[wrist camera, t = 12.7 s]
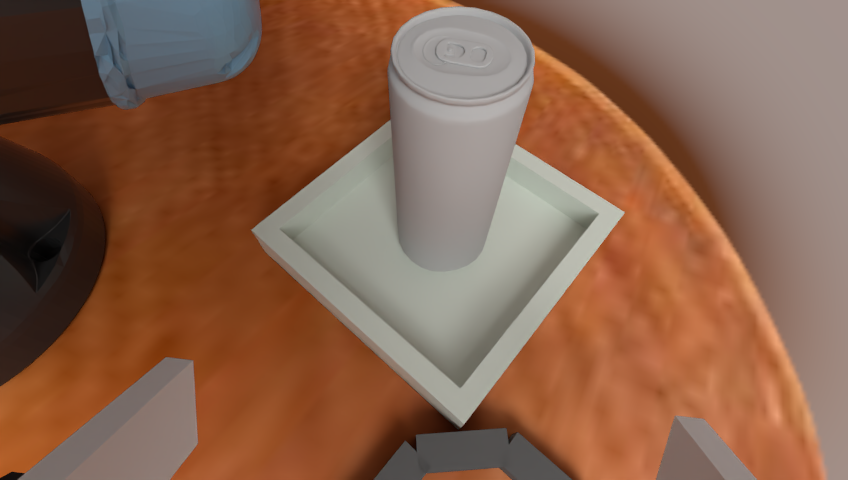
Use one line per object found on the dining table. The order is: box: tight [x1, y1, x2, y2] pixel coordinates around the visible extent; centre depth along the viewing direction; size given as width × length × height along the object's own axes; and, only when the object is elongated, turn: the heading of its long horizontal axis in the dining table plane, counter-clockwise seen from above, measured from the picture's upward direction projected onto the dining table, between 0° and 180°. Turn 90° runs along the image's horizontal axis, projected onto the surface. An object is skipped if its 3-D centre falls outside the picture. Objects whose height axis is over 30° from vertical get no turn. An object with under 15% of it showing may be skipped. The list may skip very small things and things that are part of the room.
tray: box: [251, 120, 625, 430], centre depth 23 cm, size 14×14×2 cm
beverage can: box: [388, 6, 535, 272], centre depth 19 cm, size 5×5×12 cm
